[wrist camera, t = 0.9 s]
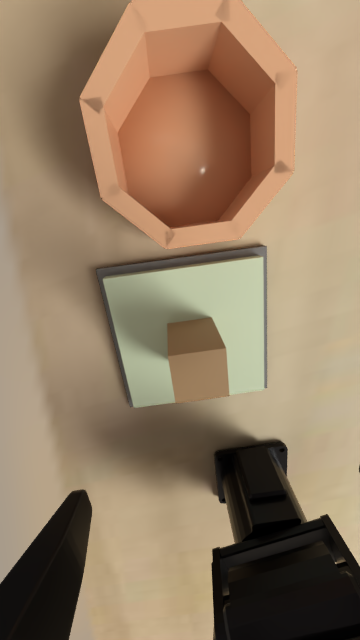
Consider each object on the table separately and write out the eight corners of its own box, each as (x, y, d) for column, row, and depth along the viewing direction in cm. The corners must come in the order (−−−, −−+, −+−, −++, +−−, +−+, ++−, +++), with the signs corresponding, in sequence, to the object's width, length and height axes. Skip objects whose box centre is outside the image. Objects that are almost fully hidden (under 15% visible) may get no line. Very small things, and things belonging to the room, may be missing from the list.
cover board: (260, 383, 20) (290, 435, 16) (135, 401, 20) (125, 458, 16) (259, 255, 17) (297, 270, 12) (105, 276, 17) (80, 300, 12)
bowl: (263, 228, 16) (292, 231, 13) (125, 247, 16) (113, 256, 13) (262, 45, 13) (300, -23, 9) (89, 69, 13) (59, 10, 9)
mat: (265, 385, 21) (267, 388, 21) (130, 403, 21) (129, 407, 21) (264, 245, 17) (266, 246, 16) (97, 268, 17) (95, 269, 16)
